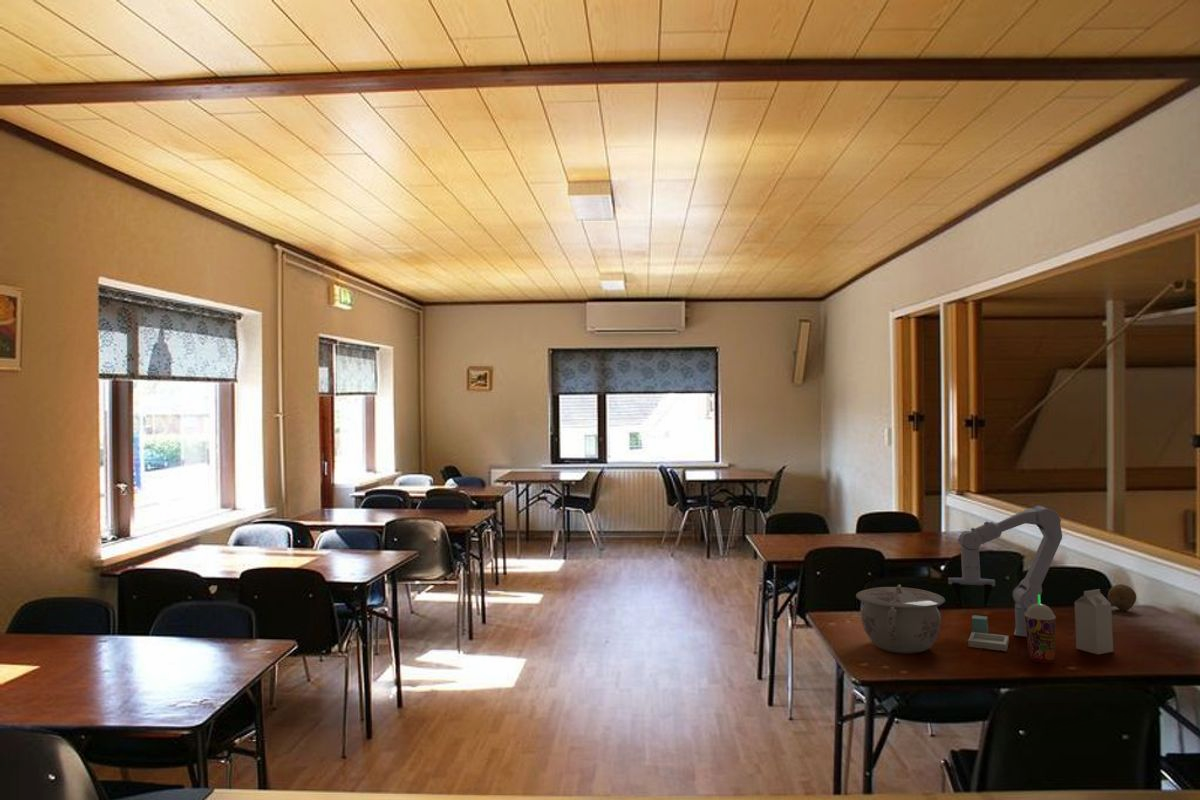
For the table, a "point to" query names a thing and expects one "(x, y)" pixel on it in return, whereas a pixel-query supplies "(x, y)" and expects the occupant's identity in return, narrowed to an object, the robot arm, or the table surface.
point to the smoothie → (1040, 632)
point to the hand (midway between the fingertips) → (972, 605)
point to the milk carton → (1093, 623)
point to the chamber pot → (901, 618)
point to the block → (980, 624)
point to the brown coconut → (1122, 597)
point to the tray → (988, 641)
